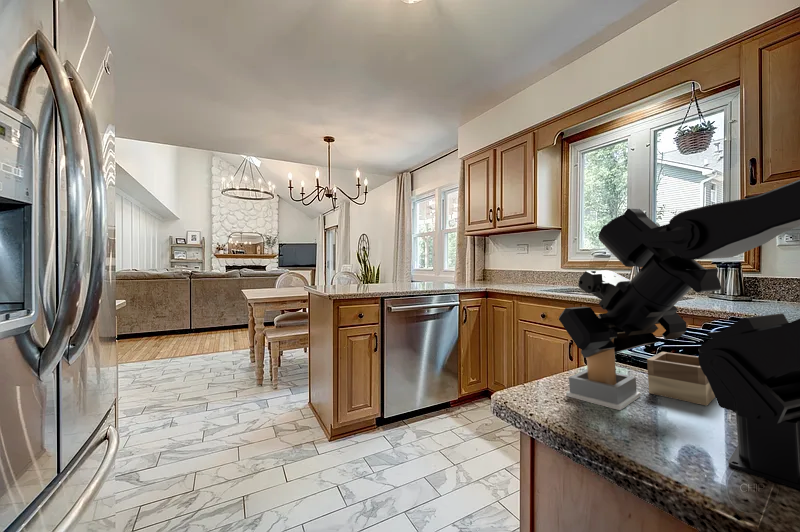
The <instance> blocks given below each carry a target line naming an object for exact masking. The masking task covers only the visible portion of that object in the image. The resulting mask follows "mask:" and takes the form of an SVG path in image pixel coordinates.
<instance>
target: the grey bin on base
mask: <svg viewBox="0 0 800 532" xmlns="http://www.w3.org/2000/svg"><path fill="white" fill-rule="evenodd" d="M568 383H569V385H568V386H569V387H568V388H569V390H568V391H566V392H565V394H566V395H565V396H566V397H569V398H572V399H577V400H581V401H585V402H588V403H592V404H595V405H599V406H602V407H605V408H606V407H607V408H609V409H614V410H617V411H622V410H624V409H625V408H626V407H627V406H629V405H630V404H632V403H633V402H634V401H636V400H637V399H639V398H641V396H642V395H641V392H640V391H637V378H636V376H633V375H632V376H631V375H627V374H622V373H617V372H616V384H615V385H610V384H605V383H601V382H596V381H592V380H588V371H587V368H586V369H584V370H582V371H580V372H578V373H575V374H573V375H569V377H568Z"/></svg>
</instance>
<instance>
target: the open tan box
mask: <svg viewBox="0 0 800 532" xmlns="http://www.w3.org/2000/svg"><path fill="white" fill-rule="evenodd" d="M698 356H699V355H698ZM698 356H697V355H689V354H682V353H673V352H667V351H661V352H659V353H656V354H655V355H653V356H651V357H649V358H647V359H646V363H647V366H646V367H647V378H648V382H647V383H648V393H649V394H651V395H655V396H660V397H661V396H662V397H666V398H669V399H675V400H678V401H683V402H688V403H692V404H698V405H701V406H702V405H703V406H709V404H710V403H711V402H712V401H713V400H714V399H716V397H715V395H714V393H713V391H712V388H711V386H710V384H709V381H708V379H707V377H706V376H705V374H704V373H703V371H702V369H701V367H700V364H699V359H698Z"/></svg>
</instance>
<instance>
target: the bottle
mask: <svg viewBox="0 0 800 532" xmlns="http://www.w3.org/2000/svg"><path fill="white" fill-rule="evenodd" d="M611 341H612V342H613V343H614V338H613V339H612V340H611ZM586 367H587V368H586V369H587V371H588V380H592V381H596V382H601V383H605V384H610V385H615V384H616V373H617V370H616V355H615V351H614V348H613V349H610V350H607V351H604V352H602V353H599V354H596V355H593V356H590V357H587V358H586Z"/></svg>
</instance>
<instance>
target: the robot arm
mask: <svg viewBox="0 0 800 532" xmlns="http://www.w3.org/2000/svg"><path fill="white" fill-rule="evenodd" d="M798 227H800V179H797V180H795V181H792V182H789V183H788V184H784V185H782V186H779V187H777V188H774V189H771V190H768V191H766V192H763V193H761V194H758V195H755V196H754V195H753V196H750V197H746V198H741V199H735V200H729V201H724V202H718V203H713V204H708V205H705V206H700V207H697V208H693V209H688V210H684V211H681V212H679V213H677V214H676V215H674V216H673V217H672V218H671V219H669V221H668V223H667V224H663V225H660V226H659V225H658V224H657V223H656V222H654V221H653V220H652V219H651V218H650V217H648V215H647V214H646V213H645V211H644V210H642V209H640V208H627V209H626V210H625V212H624V213H623V214H621V215H619V216H617V217H615V218H613V219H612V220H610V221H609V222H608V223H607V224H605V225H603V226H602V228H601V229H600V231H599V233H598V240H599V241H600V243H601V244H603V245H602V246H604V247H605V248H606V249H608V251H609V252H610V253H611V254H612V255H613V256H614V257H615V258H617V260H618V261H619V262H620V263H621V264H622V265H623V266H624V267H627V268H632V267H637V268H640V269H639V271H638V272H637V273H636V274H635V275H634V276H633V278H632V279H629V278H627V277H624V276H623V275H620V274H619V273H616V272H614V271H612V270H608V269H606V270H604V269H603V270H601V269H600V270H594V269H591V270H585V271H584V272H583V274H582V275H580V277H579V280H578V282H577V283H578V284H577V286H578V288H579V289H581V290H582V291H584V292H585V293H586V294H590V295H592V296H595V297H596V298H598V299H600V301H599V302H598V305H599V307H601V309H602V310H606V311H607V312H606V313H599V314H598V315H597V314H596V312H595V311H594V309H592V307H589V306H575V307H566V308H564V310H562V312H561V313H560V315H559V317H558V320H559V322H560V323H561V324H562V326H563V328H564V330H565V331H566V332H567V334H568V335H569V337H570V338H571V339H572V341H573V343H574V344H575V346H576V347H577V349H580V354H581V355H582V356H583V358H584V359H585V358H586V359H587V357H590V356H593V355H596V354H599V353H602V352H604V351H607V350H610V349H613V348H614V351H615V353H620V352H623V351H626V350H631V349H634V348H638V347H639V348H640V347H642V346H646V345H651V344H656V343H658V340H659V339H658V338H657V336H656V335H655V334H654V333H656V331H657V330H658V329H659V327H658V326H657V325H660V326H661V327H662V328H663V329H664V330H665V331H664V332H663V333H661V335H662V338H663V339H664V340H665V341H666V340H676V339H680V337H681V336H683V335H684V334H685V333H686V332H687V330H688V329H687V328H688V327H687V322H686V320H685V319H684V318H682V317H681V316H680V314H678V313H677V312H678V311H679V309H678V308H677V307H676V306H675V305H676V304H677V303H678V302H679V301H680V300H681V299H682V298H683V297H684V296H686V295H687V293H689V292H690V291H691V290H693V291H694V292H695V293H707V292H717V291H720V290H721V289H722V286H721V281H720V278H719V277H718V272H719V270H718V269H717V268H715V267H714V268H705V267H704V266H703V265H701V263H699V262H698V261H697V260H708V259H709V260H710V259H711V260H712V259H726V258H733V257H736V256H739V255H742V254H744V253H745V252H749V251H751V250H753V249H755V248H759V247H761V246H762V245H765V244H767V243H769V242H770V241H772V240H773V239H775V238H776V237H778V236H779V235H782V234H784V233H786V232H789V231H790V230H793V229H795V228H798ZM706 336H708V337H709V339H707V340H705V341H704V342H702V343H701V345H700V346H699V347H698V359H699V364H700V367H701V369H702V371H703V373H704V374H705V376H706V377H707V379H708V381H709V384H710V386H711V388H712V391H713V393H714V395H715V400H716V402H717V404H718V407H720V408H721V409H726V410H729V411H731V412H733V413H735V415H736V417H735V418H736V433H737V435H736V436H737V446H736V447H735V449H734V451H733V452H732V454H731V456H730V458H729V459H728V466H729V467H730V468H732V469H734V470H737V471H741V472H744V473H747V474H749V475H753V476H755V477H759V478H763V479H766V480H769V481H772V482H775V483H778V484H781V485H785V486H788V487H791V488H793V489H798V490H800V318H799V319H795V320H793V321H790V322H789V321H788V319H787V318H786V315H785V314H784V313H781V312H780V313H774V314H766V315H755V316H747V317H743V318H741V319H739V320H737V321H735V322H734V323H732V324H731V325H729V326H728V327H726V328H725V329H723V330H719V331H718V330H717V331H710V332H707V333H706ZM613 338H614V343H613V342H612V341H611V340H612V339H613Z"/></svg>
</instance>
